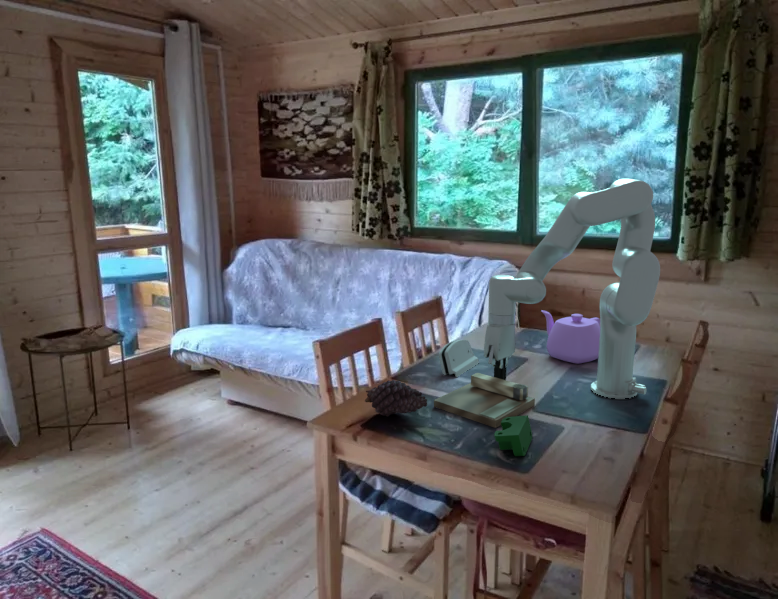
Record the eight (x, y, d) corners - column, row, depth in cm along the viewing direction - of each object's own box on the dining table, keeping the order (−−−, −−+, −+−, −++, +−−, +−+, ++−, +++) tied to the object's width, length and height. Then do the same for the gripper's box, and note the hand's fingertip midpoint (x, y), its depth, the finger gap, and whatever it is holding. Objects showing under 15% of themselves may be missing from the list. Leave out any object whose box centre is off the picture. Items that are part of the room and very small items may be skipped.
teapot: (617, 356, 200) (620, 313, 197) (580, 369, 188) (582, 324, 184) (562, 341, 218) (564, 301, 214) (524, 352, 205) (525, 310, 202)
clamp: (510, 455, 143) (505, 417, 145) (534, 453, 140) (529, 415, 142) (495, 457, 132) (490, 416, 135) (521, 456, 130) (516, 414, 132)
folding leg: (529, 396, 160) (529, 386, 160) (521, 400, 158) (522, 390, 157) (477, 382, 172) (478, 372, 171) (470, 385, 169) (470, 375, 168)
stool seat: (534, 405, 161) (534, 397, 160) (495, 428, 148) (496, 419, 147) (474, 387, 174) (474, 380, 174) (433, 406, 161) (433, 399, 160)
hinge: (456, 378, 182) (447, 347, 182) (444, 380, 185) (434, 349, 185) (480, 362, 196) (471, 334, 195) (467, 364, 199) (459, 336, 198)
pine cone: (432, 413, 157) (432, 378, 155) (420, 428, 148) (420, 391, 146) (371, 404, 163) (370, 370, 161) (356, 419, 154) (355, 383, 152)
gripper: (504, 311, 175) (503, 370, 179) (475, 321, 164) (474, 383, 168) (527, 315, 169) (524, 375, 174) (498, 326, 159) (496, 390, 163)
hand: (499, 379), depth 171 cm, fingers closed
